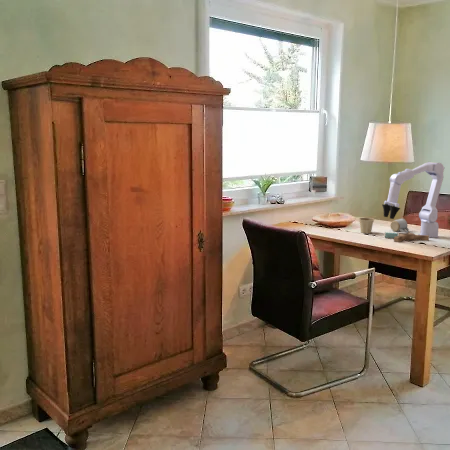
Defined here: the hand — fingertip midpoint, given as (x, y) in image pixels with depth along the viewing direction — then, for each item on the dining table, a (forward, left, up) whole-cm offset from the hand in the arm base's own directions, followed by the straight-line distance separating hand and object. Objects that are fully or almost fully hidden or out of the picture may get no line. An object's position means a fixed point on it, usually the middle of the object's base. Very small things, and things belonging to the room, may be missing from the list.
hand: (388, 217), depth 284 cm
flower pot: (+7, -19, -13) cm, 24 cm away
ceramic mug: (-16, -23, -13) cm, 31 cm away
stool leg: (-6, -2, -12) cm, 14 cm away
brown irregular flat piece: (-12, +2, -13) cm, 18 cm away
